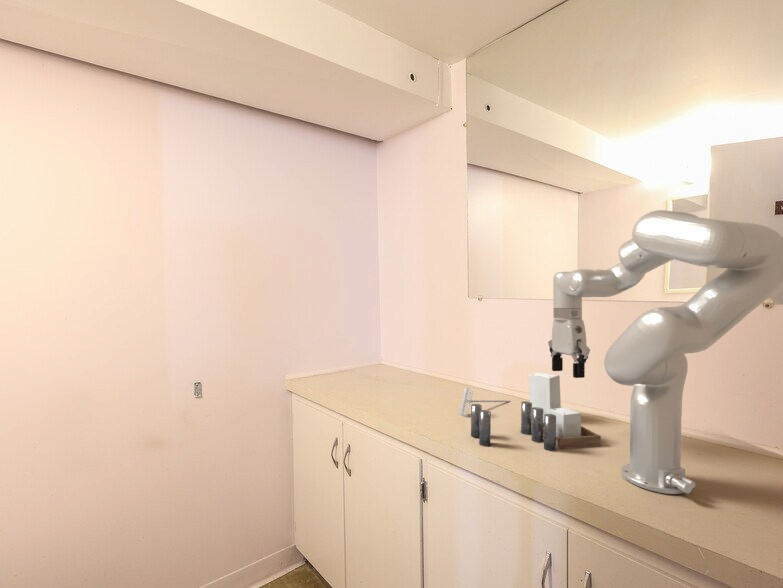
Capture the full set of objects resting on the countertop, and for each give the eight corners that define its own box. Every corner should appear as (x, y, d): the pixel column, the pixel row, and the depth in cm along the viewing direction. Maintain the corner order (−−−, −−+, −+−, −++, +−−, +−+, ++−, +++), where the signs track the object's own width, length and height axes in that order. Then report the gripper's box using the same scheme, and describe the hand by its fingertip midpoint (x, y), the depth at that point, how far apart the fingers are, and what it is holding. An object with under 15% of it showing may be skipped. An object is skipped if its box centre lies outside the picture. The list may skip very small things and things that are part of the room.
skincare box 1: (561, 420, 128) (561, 375, 128) (550, 423, 125) (550, 377, 125) (539, 413, 135) (539, 370, 135) (528, 416, 132) (528, 372, 132)
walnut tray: (600, 445, 107) (600, 436, 107) (559, 448, 105) (559, 439, 105) (571, 429, 120) (571, 420, 120) (533, 431, 117) (534, 423, 117)
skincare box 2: (581, 438, 110) (581, 413, 110) (563, 441, 109) (563, 414, 109) (566, 431, 116) (566, 406, 116) (549, 433, 115) (549, 408, 115)
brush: (514, 416, 147) (519, 392, 147) (466, 418, 130) (472, 391, 130) (506, 413, 150) (511, 389, 150) (458, 414, 133) (464, 387, 133)
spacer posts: (558, 450, 104) (558, 417, 104) (491, 455, 100) (492, 421, 100) (528, 430, 118) (528, 401, 118) (469, 434, 115) (469, 404, 115)
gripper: (600, 316, 104) (600, 379, 104) (560, 313, 121) (560, 368, 121) (575, 316, 103) (575, 381, 103) (538, 313, 120) (538, 369, 120)
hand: (567, 374), depth 112 cm, fingers open, 9 cm apart
